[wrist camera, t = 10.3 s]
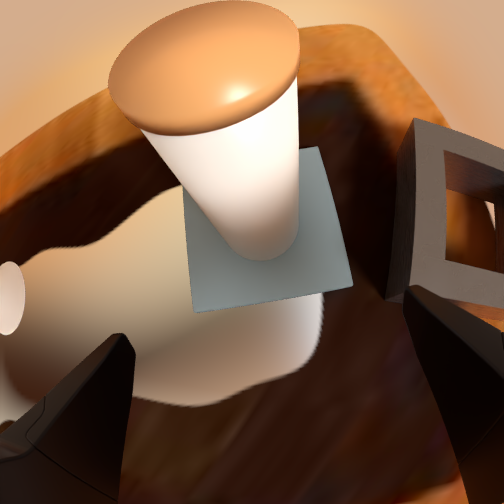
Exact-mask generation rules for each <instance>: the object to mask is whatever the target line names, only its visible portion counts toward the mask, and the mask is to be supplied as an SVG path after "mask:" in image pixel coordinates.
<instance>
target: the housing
mask: <svg viewBox="0 0 504 504" xmlns="http://www.w3.org/2000/svg"><path fill="white" fill-rule="evenodd" d="M446 189H450V190H453V191H456V192H460V193H463V194H466V195H469V196H472V197H475V198H478V199H481V200H484V201H487V202H490V203H493V204H494V212H495V231H496V272H493V271H489V270H485V269H481V268H477V267H473V266H469V265H465V264H460V263H456V262H452V261H448V260H445V251H446ZM416 284H417V285H420V286H422V287H424V288H425V289H427V290H429V291H431V292H433V293H435V294H437V295H438V296H440V297H442V298H444V299H446V300H448V301H449V302H451V303H453V304H455V305H457V306H458V307H460V308H462V309H464V310H466V311H467V312H469V313H471V314H473V315H474V316H476V317H482V318H488V319H494V320H500V321H504V150H503V149H501V148H499V147H496V146H494V145H492V144H489V143H487V142H484V141H482V140H479V139H477V138H474V137H471V136H469V135H466V134H463V133H461V132H458V131H455V130H452V129H449V128H446V127H443V126H440V125H437V124H434V123H430V122H427V121H424V120H420V119H417V118H413V120H412V122H411V124H410V127H409V129H408V131H407V133H406V135H405V137H404V140H403V142H402V144H401V146H400V148H399V150H398V152H397V180H396V202H395V217H394V229H393V240H392V249H391V258H390V266H389V274H388V281H387V288H386V294H385V300H386V301H391V302H397V303H402V304H403V298H404V290H405V288H406V287H407V286H411V285H416Z"/></svg>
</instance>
